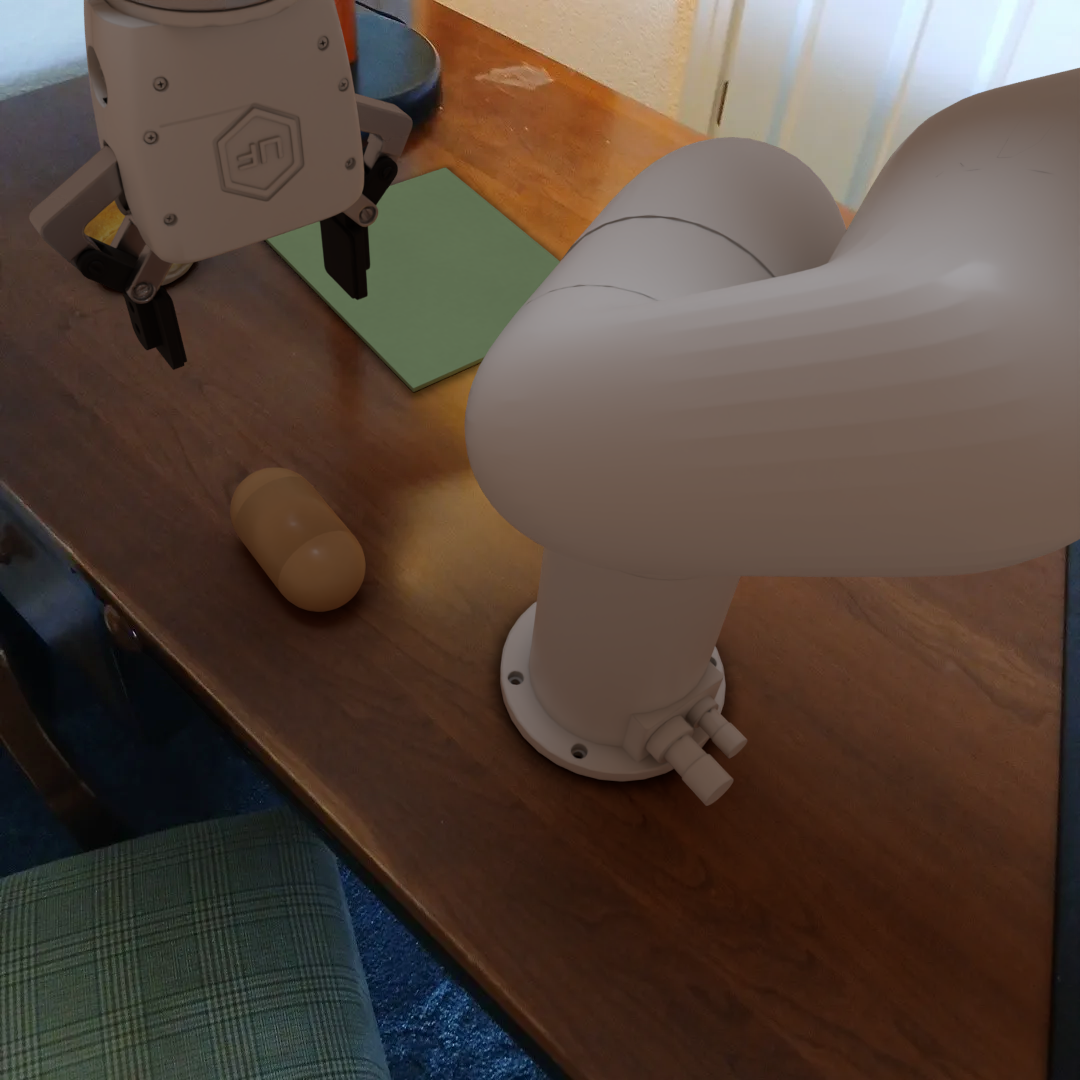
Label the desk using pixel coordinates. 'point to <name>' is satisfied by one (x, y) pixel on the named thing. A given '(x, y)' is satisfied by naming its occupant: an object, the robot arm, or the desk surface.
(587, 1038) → the desk surface
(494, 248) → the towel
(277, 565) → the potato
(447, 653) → the desk surface
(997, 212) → the robot arm
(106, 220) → the bread roll
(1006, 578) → the desk surface
